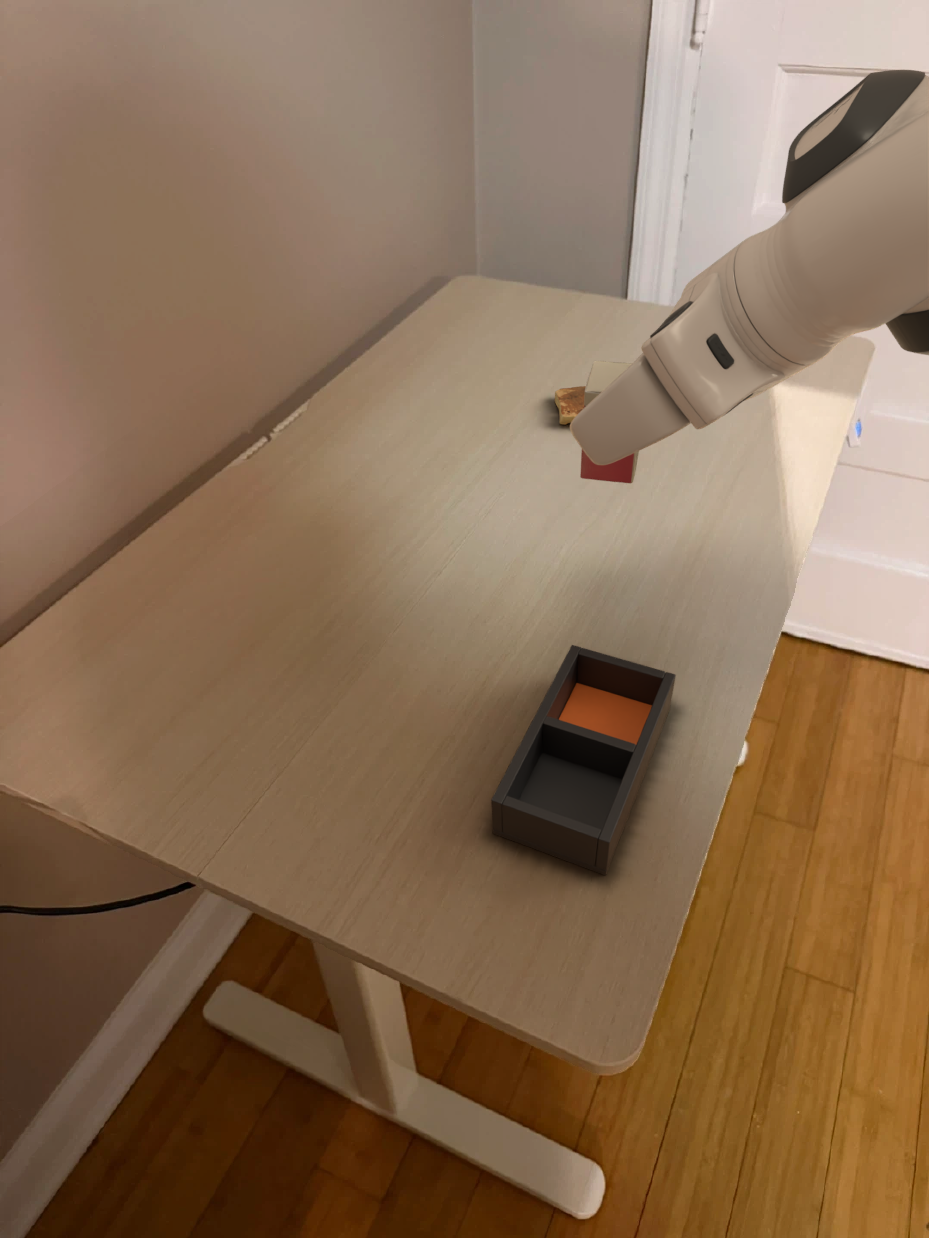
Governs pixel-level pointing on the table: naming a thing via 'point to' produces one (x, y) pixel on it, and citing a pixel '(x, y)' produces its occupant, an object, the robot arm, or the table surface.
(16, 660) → the table surface
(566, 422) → the shard
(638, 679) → the holder
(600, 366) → the small box
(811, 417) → the table surface
